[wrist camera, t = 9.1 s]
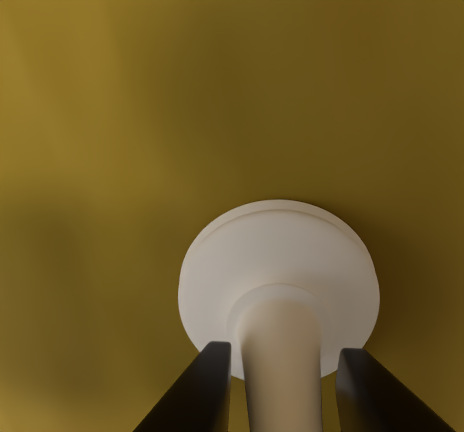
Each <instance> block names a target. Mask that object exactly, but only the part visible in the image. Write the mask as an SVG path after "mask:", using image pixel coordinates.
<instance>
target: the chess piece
mask: <svg viewBox="0 0 464 432" xmlns="http://www.w3.org/2000/svg"><path fill="white" fill-rule="evenodd" d="M379 303H380V293H379V285H378V280H377V276H376V273H375V269H374V265H373V262H372V259H371V256H370V254H369V252H368V250H367V248H366V246H365V245H364V243H363V242H362V240H361V239H360V237H359V236H358V235H357V234H356V233H355V232H354V231H353V229H351V228H350V227H349V226H348V225H347V224H346V223H345V222H344V221H342V220H341V219H339V218H338V217H336V216H335V215H333V214H332V213H330V212H328V211H326V210H324V209H321V208H319V207H316V206H314V205H311V204H307V203H303V202H298V201H292V200H263V201H257V202H252V203H248V204H245V205H242V206H239V207H237V208H234V209H232V210H230V211H228V212H226V213H224V214H222V215H221V216H219V217H218V218H216V219H215V220H213V221H212V222H211V223H210V224H208V225H207V226H206V227H205V228H204V229H203V230H202V231H201V232H200V233H199V235H198V236H197V237H196V238H195V240H194V241H193V243H192V244H191V246H190V247H189V249H188V251H187V253H186V256H185V258H184V261H183V264H182V268H181V272H180V280H179V289H178V305H179V312H180V317H181V320H182V323H183V326H184V328H185V331H186V333H187V335H188V336H189V338H190V340H191V341H192V343H193V344H194V346H195V347H196V348H197V349H198V351H199V352H201V351H202V350H203V349H204V347H205V346H206V345H207V344H208V343H209V342H210V341H226V342H230V343H231V347H232V352H231V375H232V376H234V377H237V378H239V379H242V380H244V381H245V390H246V398H247V407H248V417H249V426H250V432H323V427H322V402H321V378H322V377H324V376H326V375H329V374H331V373H332V372H334V371H336V370H337V369H338V362H339V355H340V351H341V349H343V348H361V349H362V347H363V346H364V345H365V343H366V342H367V340H368V338H369V337H370V335H371V333H372V331H373V329H374V326H375V323H376V320H377V316H378V312H379Z"/></svg>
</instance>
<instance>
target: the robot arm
mask: <svg viewBox="0 0 464 432" xmlns="http://www.w3.org/2000/svg"><path fill="white" fill-rule="evenodd" d="M231 352H232V347H231V343H230V342H226V341H210V342H209V343H208V344H207V345H206V346H205V347H204V349H203V350H202V351H201V352H200V353H199V354H198V356H197V357H196V358H195V359H194V360H193V361H192V363H191V364H190V365H189V366H188V367H187V369H186V370H185V371H184V372H183V373H182V374H181V376H180V377H179V378H178V379H177V380H176V382H175V383H174V384H173V385H172V386H171V387H170V389H169V390H168V391H167V392H166V393H165V394H164V396H163V397H162V398H161V399H160V400H159V402H158V403H157V404H156V405H155V406H154V407H153V409H152V410H151V411H150V412H149V413H148V414H147V416H146V417H145V418H144V419H143V420H142V422H141V423H140V424H139V425H138V426H137V427H136V429H135V430H134V431H133V432H228V420H229V404H230V388H231ZM335 387H336V399H337V406H338V413H339V419H340V426H341V432H456V431H455V430H454V429H453V428H452V427H451V426H449V425H448V424H447V423H446V422H445V421H444V420H443V419H442V418H440V417H439V416H438V415H437V414H436V413H435V412H434V411H433V410H432V409H430V408H429V407H428V406H427V405H426V404H425V403H424V402H423V401H422V400H420V399H419V398H418V397H417V396H416V395H415V394H414V393H413V392H412V391H410V390H409V389H408V388H407V387H406V386H405V385H404V384H403V383H402V382H400V381H399V380H398V379H397V378H396V377H395V376H394V375H393V374H392V373H390V372H389V371H388V370H387V369H386V368H385V367H384V366H383V365H382V364H380V363H379V362H378V361H377V360H376V359H375V358H374V357H373V356H372V355H370V354H369V353H368V352H367V351H366V350H364V349H361V348H343V349H341V351H340V355H339V362H338V369H337V376H336V386H335Z"/></svg>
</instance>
